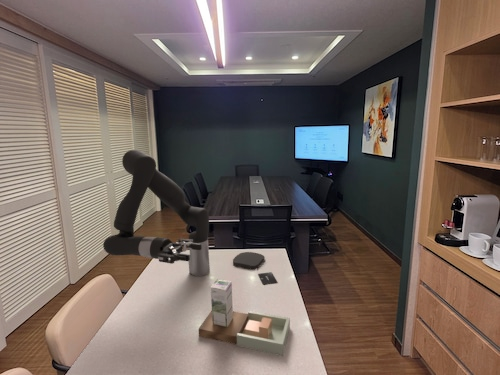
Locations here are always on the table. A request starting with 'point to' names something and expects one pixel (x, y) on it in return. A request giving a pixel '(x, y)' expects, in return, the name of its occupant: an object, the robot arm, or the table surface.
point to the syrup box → (221, 302)
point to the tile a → (252, 328)
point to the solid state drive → (267, 278)
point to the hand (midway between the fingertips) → (195, 252)
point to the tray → (276, 338)
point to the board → (224, 328)
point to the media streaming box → (248, 260)
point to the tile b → (265, 328)
